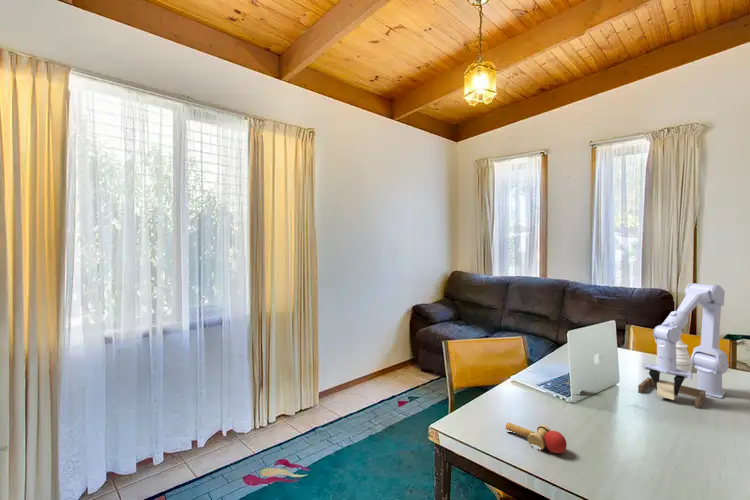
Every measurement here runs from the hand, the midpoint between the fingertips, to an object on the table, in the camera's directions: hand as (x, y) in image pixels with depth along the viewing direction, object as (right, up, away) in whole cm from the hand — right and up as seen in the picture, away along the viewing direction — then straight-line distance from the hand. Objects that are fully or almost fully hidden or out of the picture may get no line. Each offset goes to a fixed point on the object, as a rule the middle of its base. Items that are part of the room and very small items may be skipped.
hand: (666, 392), depth 133 cm
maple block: (0, -1, 0) cm, 1 cm away
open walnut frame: (+4, -3, +3) cm, 6 cm away
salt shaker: (-31, -4, +8) cm, 33 cm away
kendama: (-64, -5, -27) cm, 70 cm away
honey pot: (+32, -2, +33) cm, 46 cm away
